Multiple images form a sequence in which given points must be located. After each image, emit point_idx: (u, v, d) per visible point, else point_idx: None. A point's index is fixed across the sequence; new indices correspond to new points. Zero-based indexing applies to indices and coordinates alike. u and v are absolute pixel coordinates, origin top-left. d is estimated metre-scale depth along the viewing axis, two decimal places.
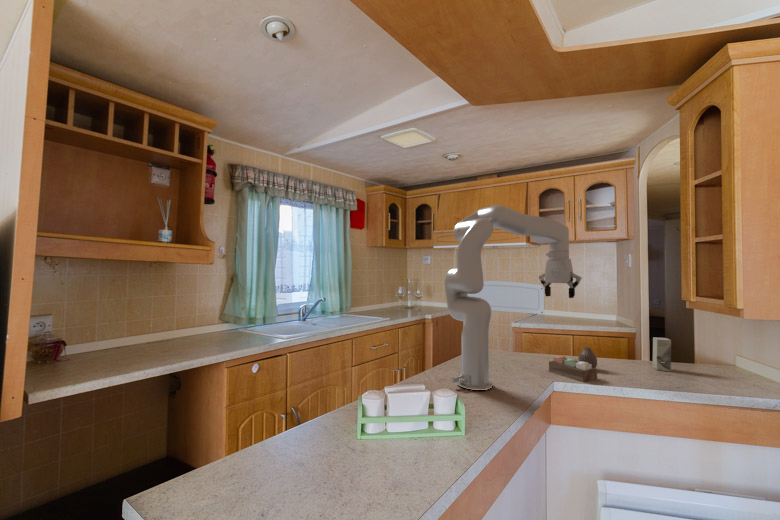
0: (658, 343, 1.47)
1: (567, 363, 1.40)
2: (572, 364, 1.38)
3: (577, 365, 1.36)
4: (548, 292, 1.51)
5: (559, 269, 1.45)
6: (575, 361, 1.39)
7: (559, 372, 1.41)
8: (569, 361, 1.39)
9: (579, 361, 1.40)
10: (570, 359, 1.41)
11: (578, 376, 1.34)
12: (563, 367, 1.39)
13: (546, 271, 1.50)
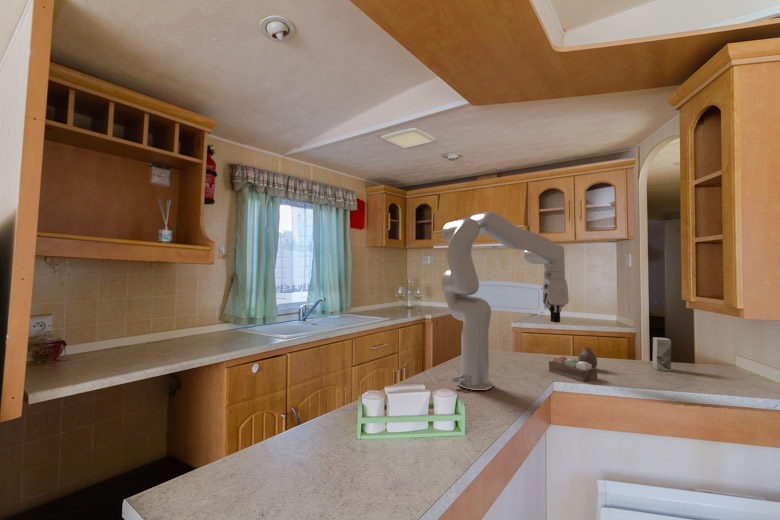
0: (658, 343, 1.47)
1: (567, 363, 1.40)
2: (572, 364, 1.38)
3: (577, 365, 1.36)
4: None
5: (563, 290, 1.41)
6: (575, 361, 1.39)
7: (559, 372, 1.41)
8: (569, 361, 1.39)
9: (579, 361, 1.40)
10: (570, 359, 1.41)
11: (578, 376, 1.34)
12: (563, 367, 1.39)
13: (553, 293, 1.38)
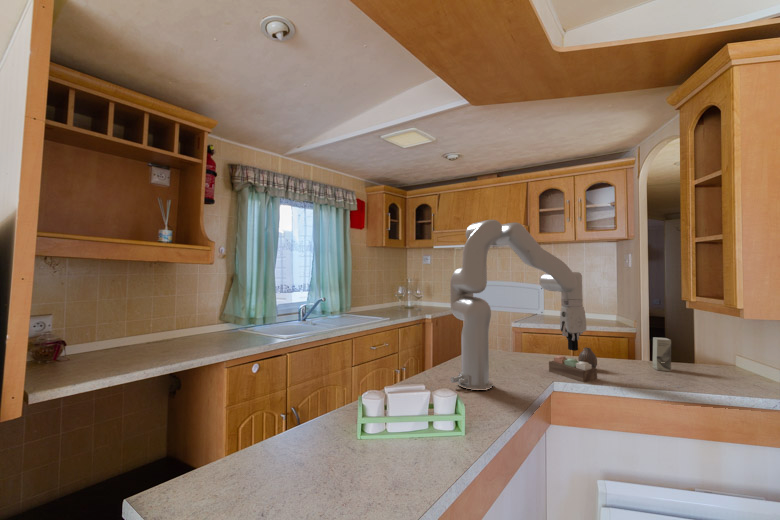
0: (658, 343, 1.47)
1: (567, 363, 1.40)
2: (572, 364, 1.38)
3: (577, 365, 1.36)
4: None
5: (581, 318, 1.39)
6: (575, 361, 1.39)
7: (559, 372, 1.41)
8: (569, 361, 1.39)
9: (579, 361, 1.40)
10: (570, 359, 1.41)
11: (578, 376, 1.34)
12: (563, 367, 1.39)
13: (571, 321, 1.37)
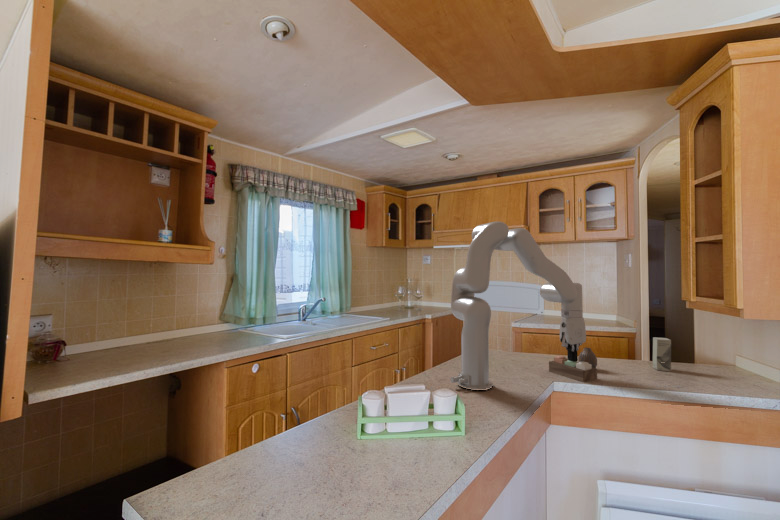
0: (658, 343, 1.47)
1: (567, 364, 1.40)
2: (572, 365, 1.38)
3: (577, 365, 1.36)
4: None
5: (581, 329, 1.39)
6: (575, 362, 1.39)
7: (559, 372, 1.41)
8: (569, 362, 1.39)
9: None
10: None
11: (578, 376, 1.34)
12: (563, 367, 1.39)
13: (571, 332, 1.37)
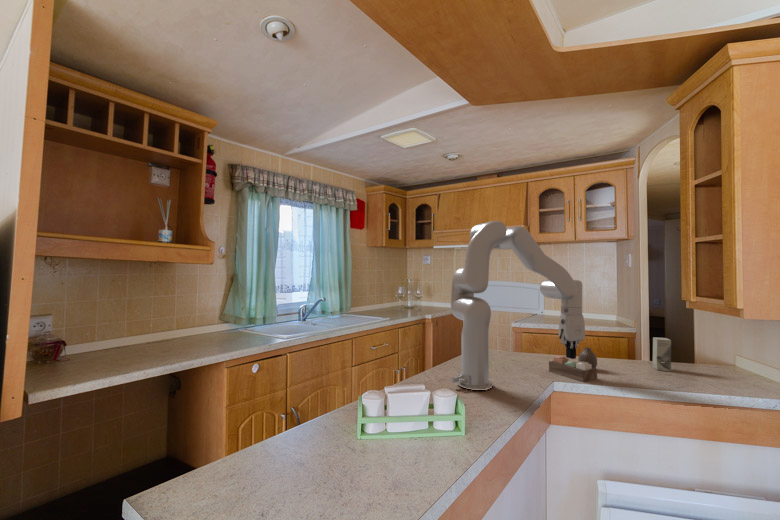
0: (658, 343, 1.47)
1: None
2: None
3: (577, 365, 1.36)
4: None
5: (580, 326, 1.39)
6: (575, 364, 1.39)
7: (559, 372, 1.41)
8: (569, 364, 1.39)
9: None
10: (570, 362, 1.41)
11: (578, 376, 1.34)
12: (563, 367, 1.39)
13: (570, 329, 1.36)
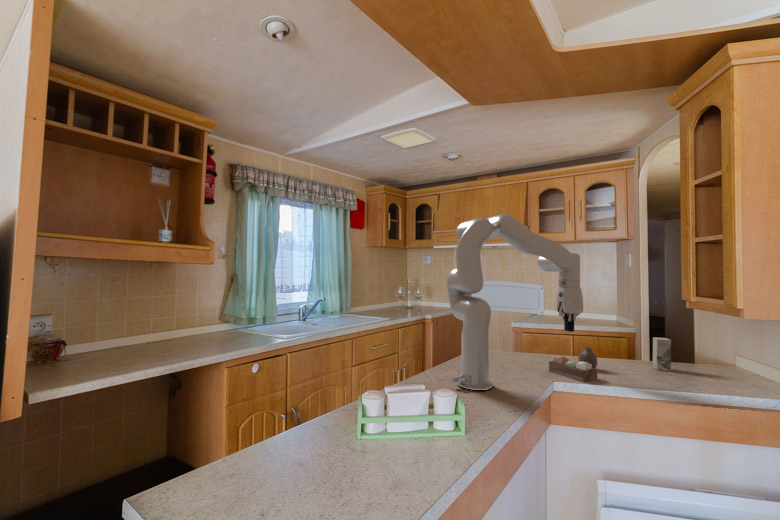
0: (658, 343, 1.47)
1: None
2: None
3: (577, 365, 1.36)
4: None
5: (578, 299, 1.39)
6: (575, 364, 1.39)
7: (559, 372, 1.41)
8: (569, 364, 1.39)
9: None
10: (570, 362, 1.41)
11: (578, 376, 1.34)
12: (563, 367, 1.39)
13: (568, 302, 1.37)
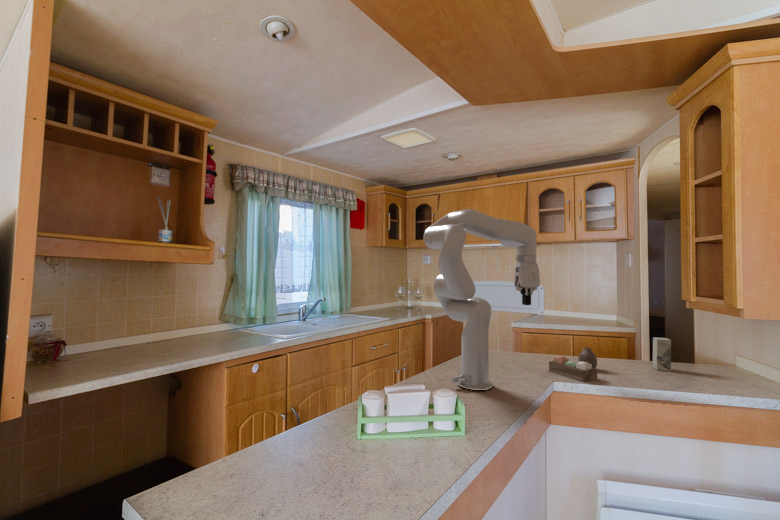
0: (658, 343, 1.47)
1: None
2: None
3: (577, 365, 1.36)
4: None
5: (534, 273, 1.44)
6: (575, 364, 1.39)
7: (559, 372, 1.41)
8: (569, 364, 1.39)
9: None
10: (570, 362, 1.41)
11: (578, 376, 1.34)
12: (563, 367, 1.39)
13: (524, 276, 1.42)
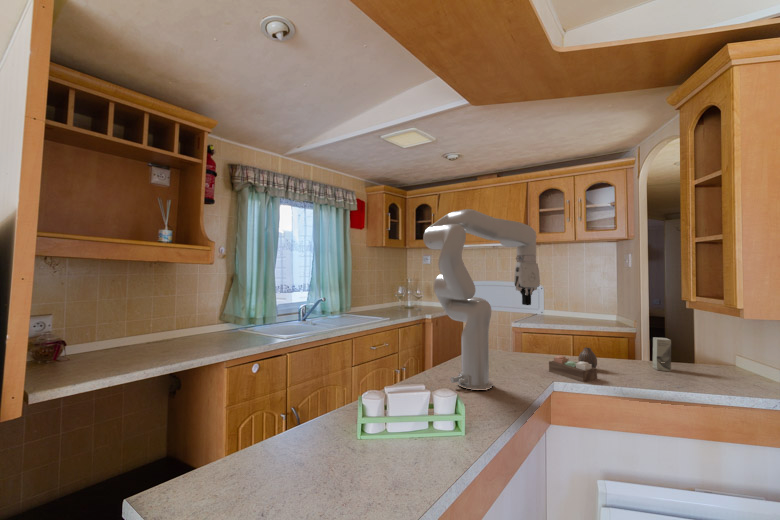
0: (658, 343, 1.47)
1: None
2: None
3: (577, 365, 1.36)
4: None
5: (534, 273, 1.44)
6: (575, 364, 1.39)
7: (559, 372, 1.41)
8: (569, 364, 1.39)
9: None
10: (570, 362, 1.41)
11: (578, 376, 1.34)
12: (563, 367, 1.39)
13: (524, 276, 1.42)
